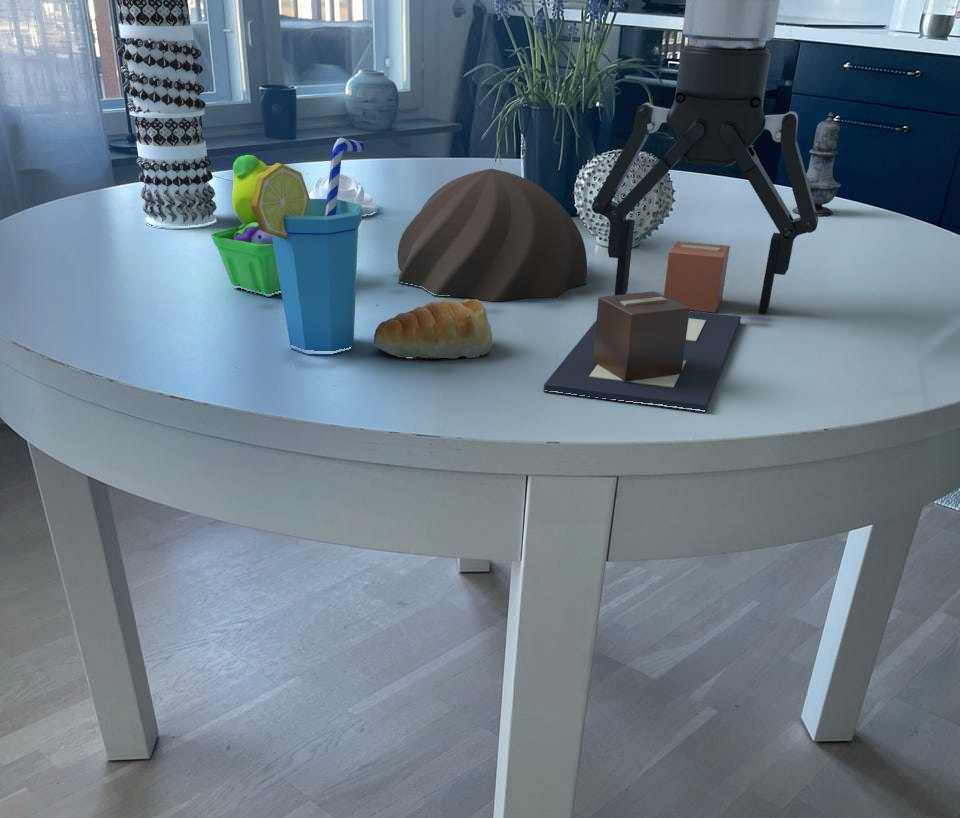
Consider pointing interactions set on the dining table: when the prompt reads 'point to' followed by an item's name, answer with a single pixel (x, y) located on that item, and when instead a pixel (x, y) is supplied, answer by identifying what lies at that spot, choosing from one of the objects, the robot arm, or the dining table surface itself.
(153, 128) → the bracelet display cylinder
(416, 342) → the pastry
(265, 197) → the cup
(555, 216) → the decorative dome
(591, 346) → the word mat
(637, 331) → the letter block
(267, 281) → the fruit basket
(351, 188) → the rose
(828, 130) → the salt shaker
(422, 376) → the dining table surface
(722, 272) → the letter block
